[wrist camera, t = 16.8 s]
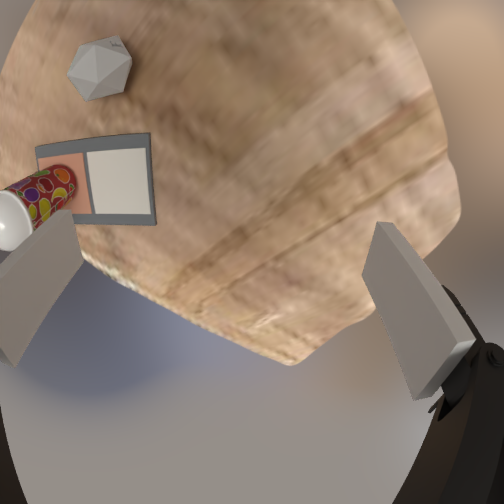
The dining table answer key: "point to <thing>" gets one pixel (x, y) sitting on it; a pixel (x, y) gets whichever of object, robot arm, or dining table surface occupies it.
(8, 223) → the smoothie
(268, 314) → the dining table surface
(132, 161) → the game board
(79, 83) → the die
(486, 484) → the robot arm
